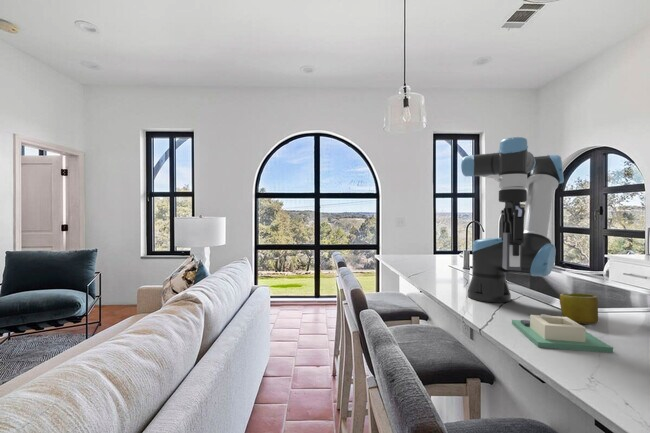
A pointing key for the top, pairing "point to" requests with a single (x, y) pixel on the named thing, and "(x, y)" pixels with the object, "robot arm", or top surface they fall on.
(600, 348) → the board
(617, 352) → the top surface
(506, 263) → the plug
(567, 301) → the mug
